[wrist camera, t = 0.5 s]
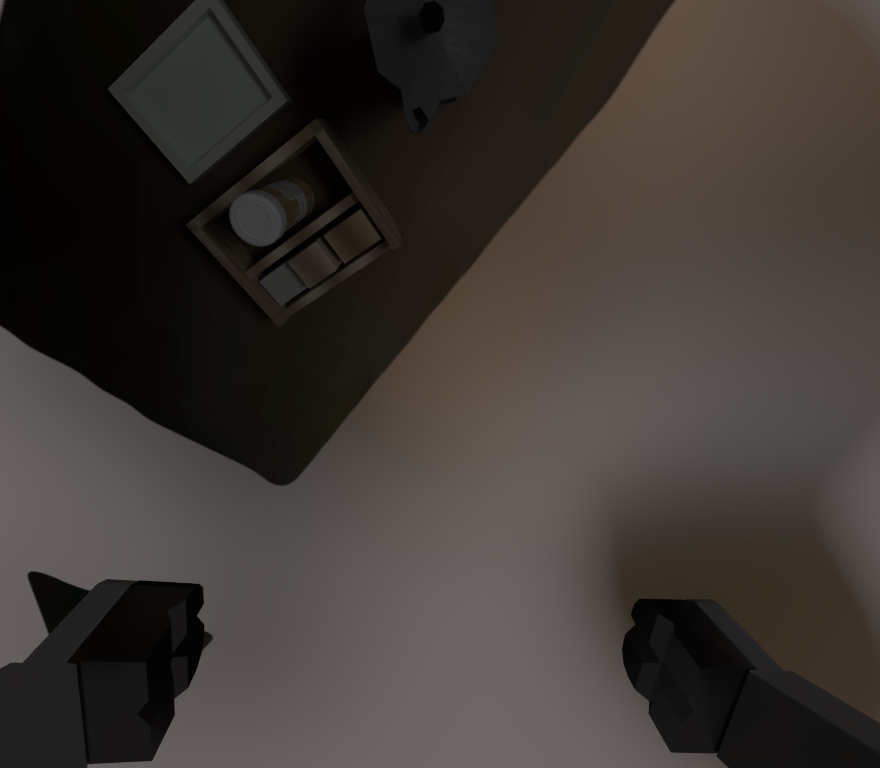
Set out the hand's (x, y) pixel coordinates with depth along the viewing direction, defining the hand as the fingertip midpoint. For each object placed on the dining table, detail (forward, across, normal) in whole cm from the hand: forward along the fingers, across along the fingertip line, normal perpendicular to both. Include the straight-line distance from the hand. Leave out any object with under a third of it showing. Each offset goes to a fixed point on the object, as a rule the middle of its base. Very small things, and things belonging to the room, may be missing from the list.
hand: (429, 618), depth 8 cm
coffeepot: (+43, 0, -28) cm, 51 cm away
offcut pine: (+49, +10, -7) cm, 51 cm away
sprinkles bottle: (+48, +13, -12) cm, 51 cm away
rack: (+48, +12, -10) cm, 51 cm away
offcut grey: (+50, +14, -4) cm, 52 cm away
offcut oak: (+48, +6, -10) cm, 50 cm away
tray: (+46, +22, -20) cm, 55 cm away
